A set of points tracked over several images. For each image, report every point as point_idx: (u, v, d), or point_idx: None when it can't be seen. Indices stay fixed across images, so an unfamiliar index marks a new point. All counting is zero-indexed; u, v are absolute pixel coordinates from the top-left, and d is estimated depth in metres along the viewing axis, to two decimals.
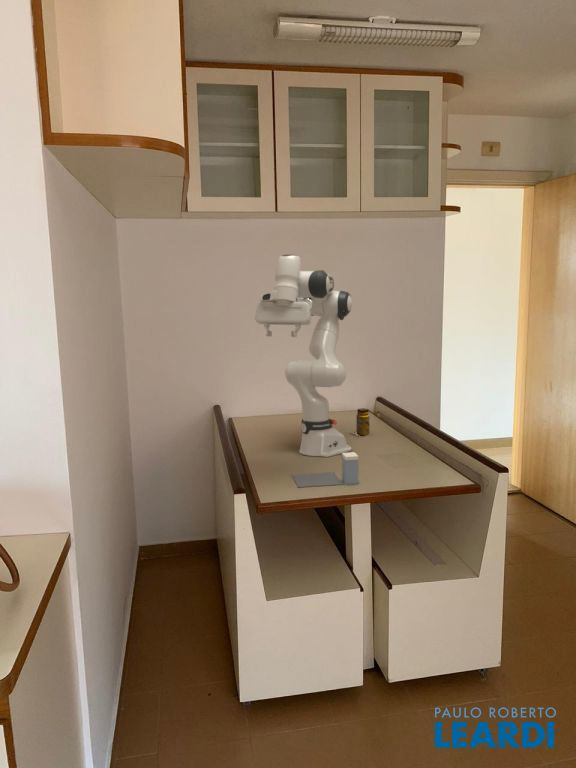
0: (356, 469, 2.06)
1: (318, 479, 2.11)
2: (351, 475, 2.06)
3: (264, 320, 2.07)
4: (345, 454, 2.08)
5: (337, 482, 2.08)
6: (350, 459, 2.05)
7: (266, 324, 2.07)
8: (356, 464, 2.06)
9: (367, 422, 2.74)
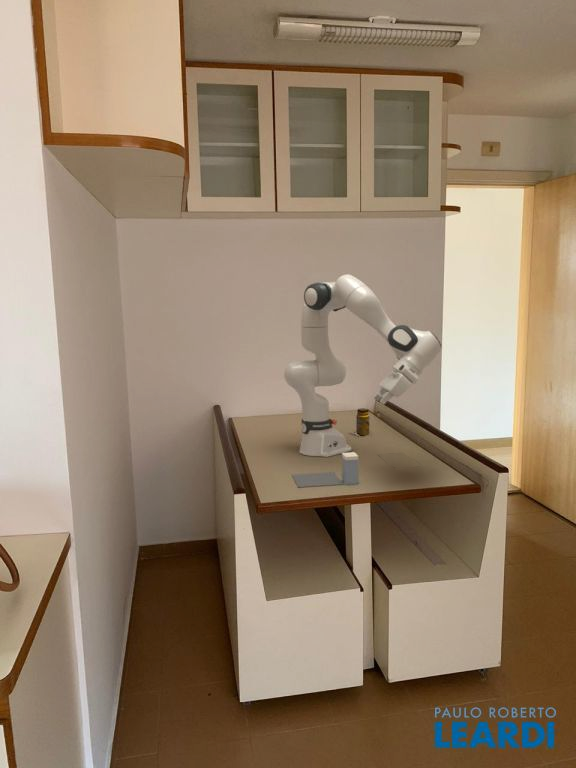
0: (356, 469, 2.06)
1: (318, 479, 2.11)
2: (351, 475, 2.06)
3: None
4: (345, 454, 2.08)
5: (337, 482, 2.08)
6: (350, 459, 2.05)
7: None
8: (356, 464, 2.06)
9: (367, 422, 2.74)
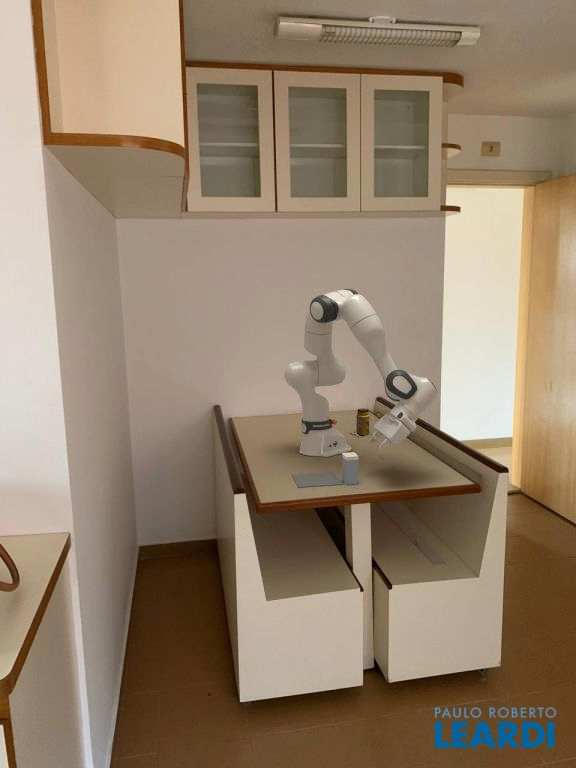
0: (356, 469, 2.06)
1: (318, 479, 2.11)
2: (351, 475, 2.06)
3: None
4: (345, 454, 2.08)
5: (337, 482, 2.08)
6: (350, 459, 2.05)
7: None
8: (356, 464, 2.06)
9: (367, 422, 2.74)
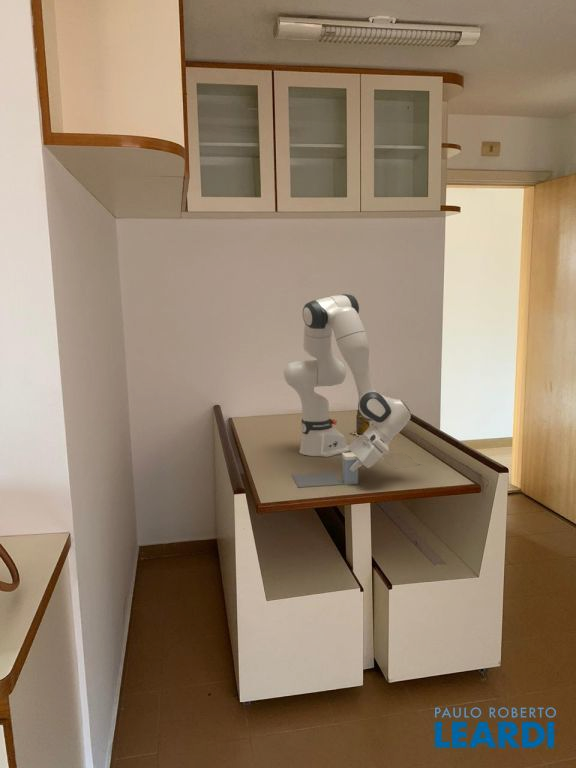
0: (356, 469, 2.06)
1: (318, 479, 2.11)
2: (351, 475, 2.06)
3: None
4: (345, 454, 2.08)
5: (337, 482, 2.08)
6: (350, 459, 2.05)
7: None
8: None
9: (367, 422, 2.74)
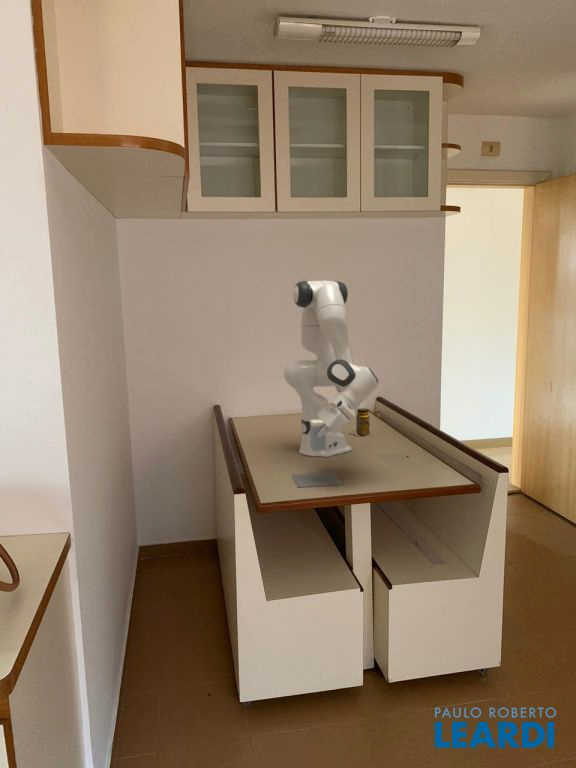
0: (323, 435, 2.07)
1: (318, 479, 2.11)
2: (318, 442, 2.07)
3: None
4: (313, 421, 2.09)
5: (337, 482, 2.08)
6: (317, 425, 2.06)
7: None
8: None
9: (367, 422, 2.74)
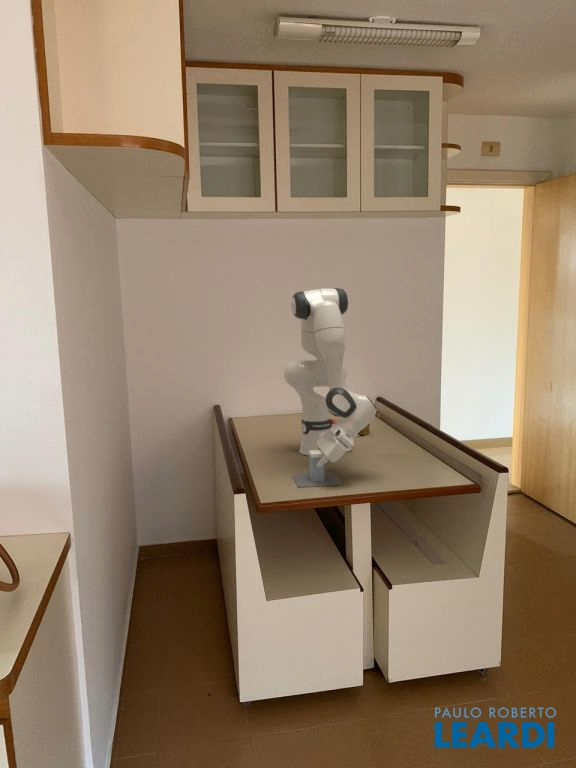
0: (322, 466, 2.09)
1: None
2: (317, 473, 2.09)
3: None
4: (311, 451, 2.10)
5: (337, 482, 2.08)
6: (316, 456, 2.08)
7: None
8: None
9: None
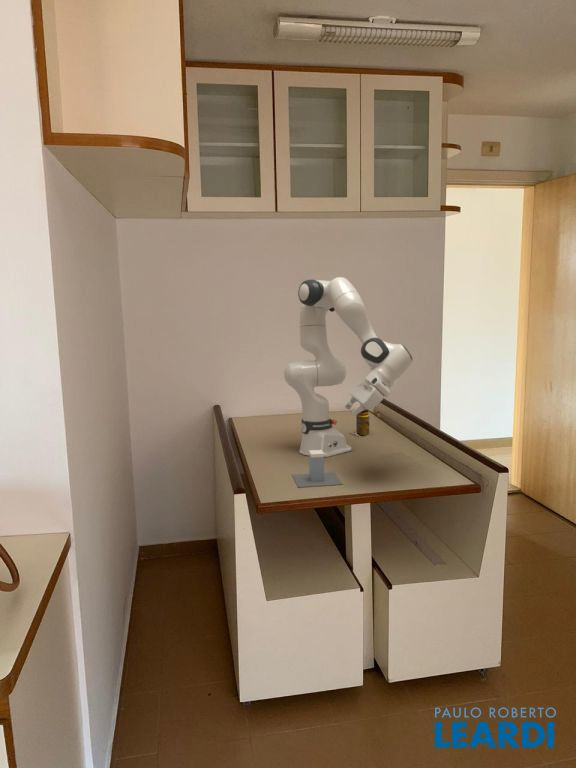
0: (322, 466, 2.09)
1: None
2: (317, 473, 2.09)
3: None
4: (311, 451, 2.10)
5: (337, 482, 2.08)
6: (316, 456, 2.08)
7: None
8: (322, 461, 2.08)
9: (367, 422, 2.74)
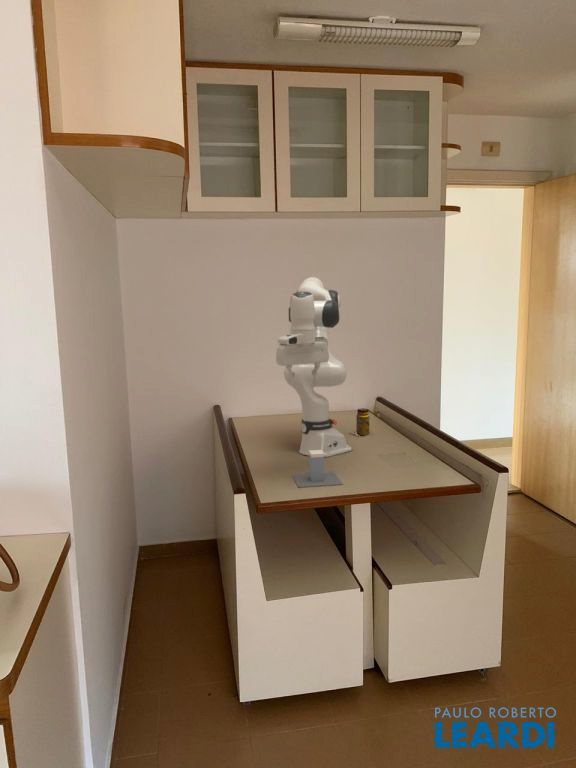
0: (322, 466, 2.09)
1: None
2: (317, 473, 2.09)
3: (290, 363, 2.06)
4: (311, 451, 2.10)
5: (337, 482, 2.08)
6: (316, 456, 2.08)
7: (290, 366, 2.07)
8: (322, 461, 2.08)
9: (367, 422, 2.74)
